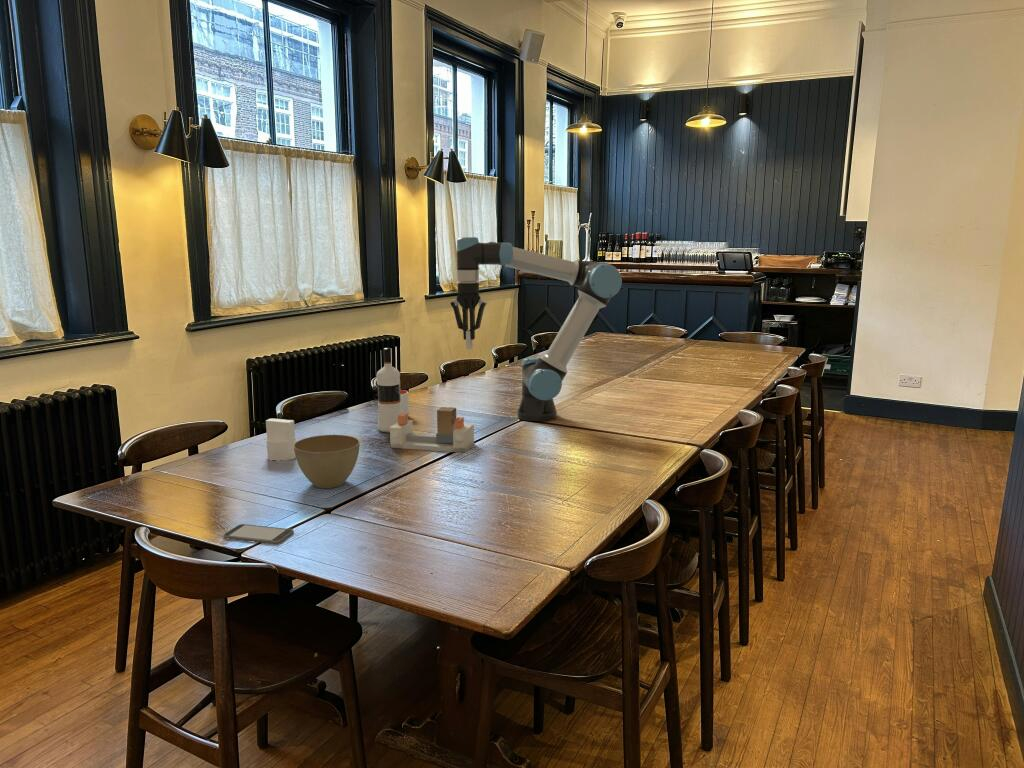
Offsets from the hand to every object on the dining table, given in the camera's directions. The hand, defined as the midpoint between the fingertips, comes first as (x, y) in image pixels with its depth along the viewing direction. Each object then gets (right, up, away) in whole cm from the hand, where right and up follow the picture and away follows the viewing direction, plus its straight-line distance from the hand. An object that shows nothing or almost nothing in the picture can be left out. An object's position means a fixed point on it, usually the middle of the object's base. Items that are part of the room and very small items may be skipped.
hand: (469, 348), depth 261 cm
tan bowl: (-37, -41, -51) cm, 76 cm away
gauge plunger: (-22, -26, -14) cm, 36 cm away
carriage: (-6, -32, -17) cm, 36 cm away
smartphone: (-45, -49, -87) cm, 109 cm away
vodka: (-29, -29, +5) cm, 42 cm away
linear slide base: (-11, -33, -15) cm, 38 cm away
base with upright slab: (-58, -36, -26) cm, 73 cm away
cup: (-30, -26, +22) cm, 45 cm away
